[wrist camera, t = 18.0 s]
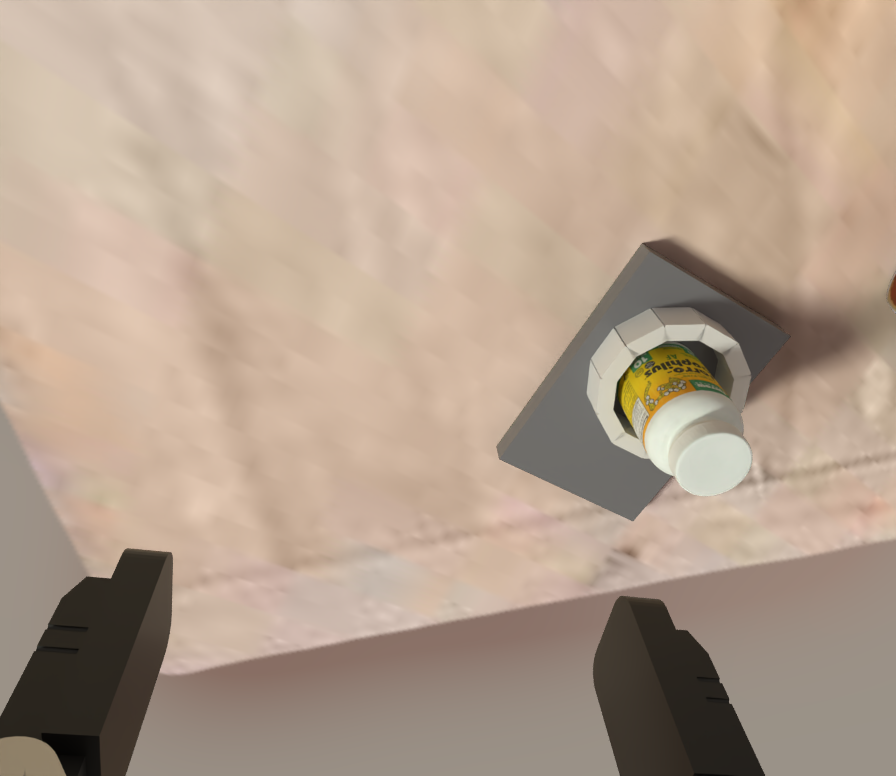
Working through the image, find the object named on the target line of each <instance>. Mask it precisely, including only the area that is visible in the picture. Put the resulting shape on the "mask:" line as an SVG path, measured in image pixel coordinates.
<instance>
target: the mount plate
mask: <svg viewBox="0 0 896 776" xmlns="http://www.w3.org/2000/svg"><path fill="white" fill-rule="evenodd" d="M790 337H791V336H789V335H788V334H787V333H786V332H785V331H784V330H783V329H782V328H781V327H780V326H778V325H776V324H775V323H773V322H771V321H770V320H768V319H766V318H765V317H763V316H761V315H760V314H758V313H757V312H755V311H753V310H752V309H750V308H748V307H747V306H745V305H743V304H742V303H740V302H738V301H737V300H735V299H733V298H732V297H730V296H728V295H727V294H725V293H723V292H722V291H720V290H718V289H717V288H715V287H714V286H712V285H710V284H709V283H707V282H705V281H704V280H702V279H700V278H699V277H697V276H695V275H694V274H692V273H690V272H689V271H687V270H685V269H684V268H682V267H680V266H679V265H677V264H676V263H674V262H672V261H671V260H669V259H667V258H666V257H664V256H662V255H661V254H659V253H657V252H656V251H654V250H652V249H651V248H649V247H647V246H646V245H644V244H641V246H640V247H639V248H638V250H637V251H636V253H635V254H634V255H633V257H632V258H631V260H630V261H629V262H628V264H627V265H626V267H625V268H624V269H623V271H622V272H621V273H620V275H619V276H618V278H617V279H616V280H615V282H614V283H613V285H612V286H611V287H610V289H609V290H608V292H607V293H606V294H605V296H604V297H603V299H602V300H601V301H600V303H599V304H598V306H597V307H596V308H595V310H594V311H593V313H592V314H591V315H590V317H589V318H588V320H587V321H586V322H585V324H584V325H583V327H582V328H581V329H580V331H579V332H578V333H577V335H576V336H575V338H574V339H573V340H572V342H571V343H570V345H569V346H568V347H567V349H566V350H565V352H564V353H563V354H562V356H561V357H560V359H559V360H558V361H557V363H556V364H555V366H554V367H553V368H552V370H551V371H550V373H549V374H548V375H547V377H546V378H545V380H544V381H543V382H542V384H541V385H540V386H539V388H538V389H537V391H536V392H535V393H534V395H533V396H532V398H531V399H530V400H529V402H528V403H527V405H526V406H525V407H524V409H523V410H522V412H521V413H520V414H519V416H518V417H517V419H516V420H515V421H514V423H513V424H512V426H511V427H510V428H509V430H508V431H507V433H506V434H505V435H504V437H503V438H502V440H501V441H500V442H499V444H498V445H497V446H496V447H497V451H498V456H499V459H500V460H502V461H504V462H506V463H508V464H511V465H513V466H515V467H517V468H519V469H521V470H523V471H526V472H528V473H530V474H532V475H534V476H536V477H539V478H541V479H543V480H545V481H547V482H549V483H551V484H554V485H556V486H558V487H560V488H562V489H564V490H567V491H569V492H571V493H573V494H575V495H577V496H579V497H582V498H584V499H586V500H588V501H590V502H592V503H595V504H597V505H599V506H601V507H603V508H605V509H607V510H610V511H612V512H614V513H616V514H618V515H620V516H622V517H625V518H627V519H629V520H631V521H634V520H635V518H636V517H637V516H638V515H639V514H640V513H641V511H642V510H643V509H644V508H645V507H646V506H647V504H648V503H649V502H650V501H651V500H652V498H653V497H654V496H655V495H656V494H657V493H658V491H659V490H660V489H661V488H662V487H663V486H664V484H665V483H666V482H667V481H668V480H669V479H670V477H671V476H672V475H669V474H667V473H665V472H663V471H662V470H660V469H659V468H658V467H656V466H655V465H654V463H653V462H652V461H651V459H650V458H649V456H648V455H647V453H646V451H645V449H644V447H643V446H642V444H641V442H640V440H639V438H638V436H637V434H636V433H635V431H634V429H633V427H632V425H631V423H630V421H629V420H628V418H627V416H626V414H625V413H624V411H623V409H622V407H621V405H620V403H619V401H618V399H617V396H616V385H617V381H618V380H619V379H620V377H621V376H622V375H623V373H624V372H625V371H626V370H627V368H628V367H629V366H630V364H631V363H632V362H633V360H634V359H635V358H636V357H637V356H639V355H641V354H643V353H645V352H646V351H648V350H650V349H652V348H654V347H656V346H658V345H660V344H662V343H664V342H666V341H672V342H677V343H680V344H682V345H684V346H685V347H687V348H688V349H689V350H691V351H692V352H693V353H694V355H695V356H696V357H697V358H698V359H699V360H700V362H701V363H702V364H703V365H704V367H705V368H706V369H707V370H708V372H709V373H710V374H711V375H712V376H713V378H714V379H715V380H716V381H717V383H718V384H719V385H720V386H721V387H722V389H723V390H724V391H725V393H726V394H727V395H728V396H729V398H730V399H731V400H732V401H733V403H734V404H735V405H736V407H737V408H738V410H739V412H740V414H741V413H742V412H743V410H744V406H745V402H746V397H747V393H748V389H749V385H750V384H751V382H752V381H753V380H754V379H755V378H756V376H757V375H758V374H759V373H760V372H761V371H762V369H763V368H764V367H765V366H766V365H767V364H768V362H769V361H770V360H771V359H772V358H773V357H774V355H775V354H776V353H777V352H778V351H779V350H780V348H781V347H782V346H783V345H784V344H785V342H786V341H787V340H788V339H789V338H790Z"/></svg>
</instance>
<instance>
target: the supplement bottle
mask: <svg viewBox="0 0 896 776" xmlns="http://www.w3.org/2000/svg"><path fill="white" fill-rule="evenodd" d="M616 396H617V399H618V401H619V403H620V405H621V407H622V409H623V411H624V413H625V414H626V416H627V418H628V420H629V421H630V423H631V425H632V427H633V429H634V431H635V433H636V434H637V436H638V438H639V440H640V442H641V444H642V446H643V447H644V449H645V451H646V453H647V455H648V456H649V458H650V459H651V461H652V462H653V463H654V465H655V466H656V467H658V468H659V469H660V470H662V471H663V472H665V473H667V474H669V475H672V476H675V478H676V479H677V481H678V483H679V484H680V486H681V487H682V488H683V489H685V490H686V491H688V492H689V493H691V494H694V495H699V496H714V495H718V494H722V493H724V492H727V491H729V490H730V489H732V488H734V487H735V486H736V485H738V484H739V483H740V482H741V481H742V480H743V479H744V478H745V476H746V475H747V473H748V472H749V470H750V468H751V464H752V451H751V448H750V446H749V444H748V442H747V441H746V439H745V438H744V436H743V432H744V425H743V419H742V416H741V414H740V412H739V410H738V408H737V407H736V405H735V404H734V403H733V401H732V400H731V399H730V398H729V396H728V395H727V394H726V393H725V391H724V390H723V389H722V387H721V386H720V385H719V384H718V383H717V381H716V380H715V379H714V378H713V376H712V375H711V374H710V373H709V372H708V370H707V369H706V368H705V367H704V365H703V364H702V363H701V362H700V360H699V359H698V358H697V357H696V356H695V355H694V353H693V352H692V351H691V350H689V349H688V348H687V347H685V346H684V345H682V344H680V343H677V342H672V341H666V342H664V343H662V344H660V345H658V346H656V347H654V348H652V349H650V350H648V351H646V352H645V353H643V354H641V355H639V356H637V357H636V358H635V359H634V360H633V362H632V363H631V364H630V366H629V367H628V368H627V370H626V371H625V372H624V373H623V375H622V376H621V377H620V379H619V380H618V381H617V385H616Z"/></svg>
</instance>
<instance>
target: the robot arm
mask: <svg viewBox="0 0 896 776" xmlns="http://www.w3.org/2000/svg"><path fill="white" fill-rule="evenodd" d="M172 575H173V556H172V553H171V552H161V551H151V550H140V549H129V548H127V549H125V550H124V552H123V554H122V556H121V558H120V560H119V562H118V564H117V567H116V569H115V571H114V573H113V575H112V578H111V579H109V578H97V577H86V578H85V579H84V580H82V581H81V582H80V583H79V584H78V585H76V586H75V587H74V588H73V589H72V590H71V591H70V592H68V594H66V595H65V596H64V597H63V598H62V599H61V601H60V603H59V605H58V607H57V608H56V610H55V612H54V614H53V616H52V618H51V620H50V622H49V624H48V628H47V630H45V632H44V634H43V635H42V637H41V639H40V641H39V643H38V645H37V650H36V651H34V653H33V655H32V657H31V659H30V661H29V662H28V664H27V667H26V668H25V670H24V672H23V674H22V676H21V678H20V680H19V682H18V684H17V686H16V687H15V689H14V691H13V693H12V695H11V697H10V699H9V701H8V703H7V705H6V707H5V709H4V711H3V713H2V715H1V716H0V776H125V775H126V772H127V769H128V766H129V763H130V760H131V757H132V754H133V751H134V747H135V745H136V741H137V738H138V735H139V732H140V729H141V726H142V723H143V720H144V717H145V714H146V711H147V708H148V705H149V702H150V699H151V695H152V692H153V689H154V686H155V683H156V680H157V677H158V674H159V671H160V668H161V665H162V662H163V659H164V655H165V652H166V648H167V644H168V639H169V634H170V627H171V617H172ZM593 678H594V686H595V690H596V694H597V697H598V701H599V704H600V707H601V711H602V715H603V718H604V722H605V725H606V728H607V732H608V736H609V739H610V742H611V746H612V749H613V753H614V756H615V760H616V763H617V767H618V770H619V773H620V776H765V774H764V772H763V770H762V768H761V766H760V764H759V761H758V759H757V757H756V755H755V753H754V751H753V748H752V747H751V744H750V742H749V740H748V738H747V736H746V734H745V731H744V729H743V727H742V725H741V723H740V721H739V719H738V716H737V714H736V712H735V710H734V708H733V706H732V704H729V697H728V695H727V693H726V691H725V689H724V687H723V684H722V683H720V682H719V679H720V678H719V676H718V674H717V672H716V670H715V667H714V665H713V663H712V661H711V659H710V657H709V654H708V653H707V652H706V651H705V650H704V648H703V647H702V646H701V645H700V644H699V643H698V642H697V641H696V640H695V639H694V638H693V636H692V635H691V634H690V633H689V632H688V631H686V630H676V629H675V626H674V624H673V622H672V620H671V617H670V615H669V613H668V610H667V608H666V606H665V605H664V603H663V602H662V601H661V600H659V599H649V598H638V597H628V596H620V597H619V598H618V599H617V600H616V602H615V604H614V607H613V609H612V612H611V614H610V617H609V620H608V623H607V625H606V627H605V630H604V633H603V635H602V638H601V640H600V643H599V645H598V648H597V651H596V654H595V658H594V665H593Z"/></svg>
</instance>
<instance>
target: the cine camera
mask: <svg viewBox="0 0 896 776" xmlns="http://www.w3.org/2000/svg"><path fill="white" fill-rule="evenodd" d="M886 299H887V303H888V305H889V306H890V308H891V309H892V311H893V312H894V313H895V314H896V272H895V274H894V276H893V278H892V279H891V282H890V285H889V287H888V290H887V298H886Z"/></svg>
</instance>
